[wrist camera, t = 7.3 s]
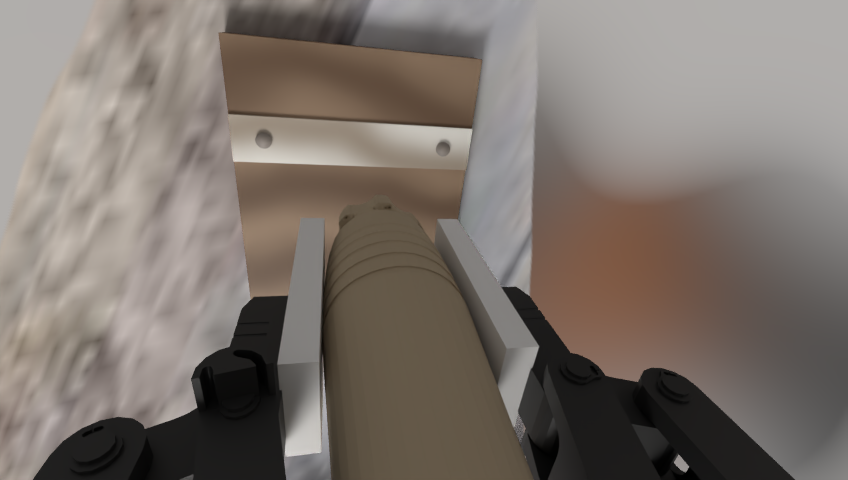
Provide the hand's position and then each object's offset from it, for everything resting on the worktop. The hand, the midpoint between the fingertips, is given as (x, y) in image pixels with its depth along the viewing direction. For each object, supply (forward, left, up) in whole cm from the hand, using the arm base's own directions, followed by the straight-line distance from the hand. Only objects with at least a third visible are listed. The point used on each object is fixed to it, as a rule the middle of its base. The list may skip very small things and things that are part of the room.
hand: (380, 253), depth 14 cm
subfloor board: (-4, 0, -17) cm, 17 cm away
